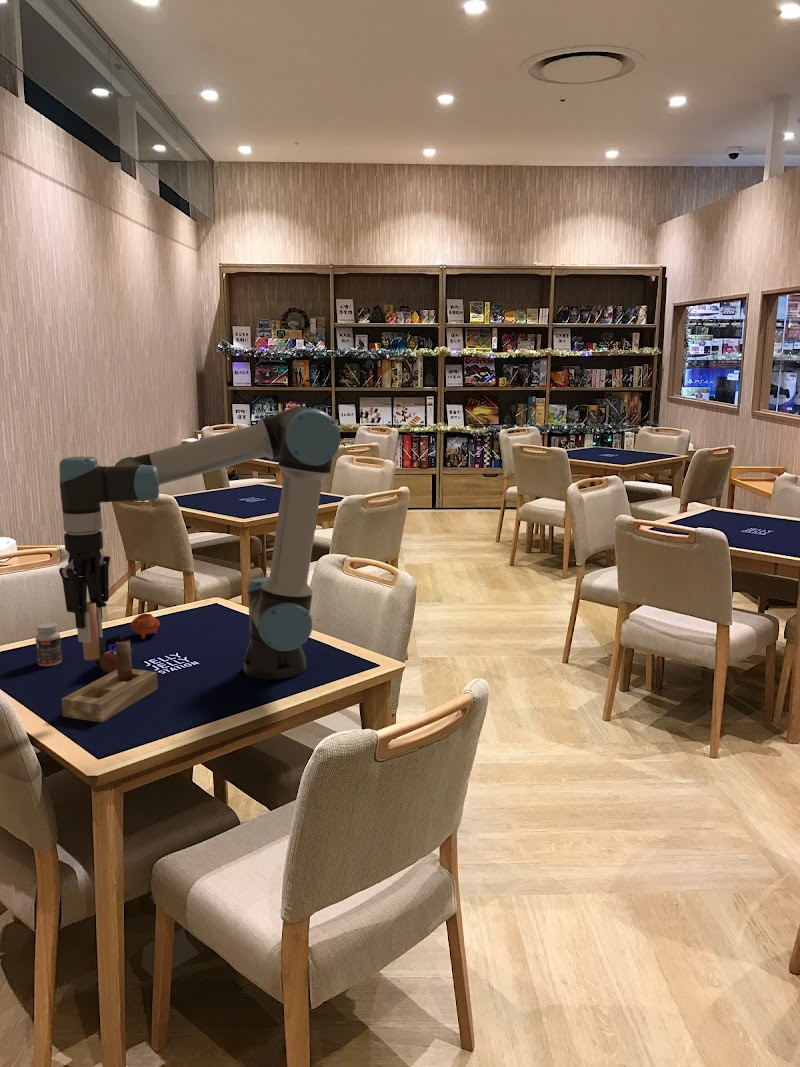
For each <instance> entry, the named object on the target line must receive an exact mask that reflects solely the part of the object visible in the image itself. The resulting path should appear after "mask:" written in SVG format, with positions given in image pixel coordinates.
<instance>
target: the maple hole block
mask: <svg viewBox="0 0 800 1067" xmlns="http://www.w3.org/2000/svg"><path fill="white" fill-rule="evenodd" d="M132 676H133V679H132V680H130V681H129V682H123V681H118V674H117V670H115V671H113V672H111V673H109V674H107V675H105V676H103V677H102V676H101V677H100V678H98V679H96V680H94V681H92V682H90V683H88V684H86V685H85V686H83V687H81V688H79V689H78V690H76V691H74V692H73V691H72V693H70V694H67V695H66V696H65V697H62V698H61V708H62V717H64V718H65V717H66V718H71V719H75V720H76V719H77V720H83V721H89V722H95V723H103V722H105V721H107V720H108V719H110V718H113V716H115V715H117V714H119V713H120V712H122V711H123V710H126V708H128V707H130V706H132V705H133V704H135V703H137V702H138V701H140V700H142V699H143V698H145V697H147V696H148V695H150V694H151V693H153V692H155V691H156V690H158V689H159V685H158V684H159V682H158V672H157V671H150V670H143V669H135V668H132Z"/></svg>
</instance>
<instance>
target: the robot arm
mask: <svg viewBox="0 0 800 1067" xmlns="http://www.w3.org/2000/svg"><path fill="white" fill-rule="evenodd" d="M340 432H341V431H340V429H339V426H338V425H337V423H336V422H335V420H334V419H333V418H332V417H331V416H330V415H329V414H328V413H327V412H325V411H323V410H321V409H317V408H312V407H308V406H295V407H292V408H289V409H286V410H283V411H282V412H278V413H275V414H273V415H270V416H267V417H263V418H259V420H258V422H257V423H256V424H255V425H254V424H253V425H250V426H247V427H244V428H238V429H235V430H233V431H232V430H231V431H228V432H225V433H220V434H216V435H212V436H210V437H205V438H202V439H198V440H194V441H190V442H186V443H183V444H179V445H175V446H171V447H169V448H168V447H167V448H163V449H161V450H160V449H159V450H156V451H153V452H149V453H146V454H141V455H137V456H127V457H123V458H121V459H120V460H119V461H117V462H116V463H115V465H112V466H106V465H105V466H102V465H99V462H98V459H97V458H96V457H94V456H71V457H64V458H63V459H62V460H61V461H60V462H59V489H60V490H59V491H60V498H61V500H60V501H61V511H62V512H61V513H62V522H63V531H64V532H65V533H64V535H63V539H64V549H65V552H67V553H68V555H69V556H68V560H67V564H66V566H65V567H60V568H59V569H58V571H59V574H60V577H61V580H62V586H63V593H64V594H63V595H64V599H65V600H64V601H65V607H66V613H74V616H75V618H74V620H75V627H76V629H77V641H78V642H79V643H83V642H85V643H90V642H91V632H90V617H89V612H86V602H87V592H88V597H89V602H95V603H96V610H97V625H98V639H99V638H100V639H101V638H103V637H104V634H103V608H106V606H107V602H108V601H109V598H110V597H109V595H110V594H109V592H110V591H109V586H110V585H109V566H110V561H111V557H110V556H109V555H102V552H101V550H102V549H103V548H104V541H103V539H104V538H103V532H102V531H101V529H102V528H103V521H102V520H103V519H102V510H101V503H119V502H120V503H121V502H123V503H125V502H126V503H127V502H141V503H144V502H147V501H156V500H157V499H159V496H160V487H159V486H161V485H165V484H169V483H172V482H175V481H180V480H184V479H187V478H189V477H190V478H192V477H194V476H197V475H202V474H206V473H209V472H213V471H217V470H220V469H224V468H228V467H231V466H236V465H239V464H242V463H246V462H249V461H253V460H257V459H261V458H268V459H269V460H273V459H274V460H275V459H277V458H279V459H278V466H277V467H278V468H279V469H280V470H281V471H282V473H283V478H282V485H281V486H282V487H281V493H280V499H279V506H278V515H277V521H276V526H275V527H276V529H275V536H274V542H273V543H274V544H273V548H272V549H273V550H272V557H271V564H270V571H269V576H266V577H265V576H264V577H259V578H253V579H251V580H250V581H248V585H247V591H246V593H247V596H248V597H247V598H248V620H249V622H248V623H249V624H248V625H249V643H248V646H247V650H246V653H245V656H244V660H243V672H244V673H245V675H247V676H248V677H250V678H254V679H258V680H283V679H289V678H292V677H296V676H298V675H300V674H303V673H304V672H305V670H306V669H307V659H306V656H305V652H304V650H303V647H302V645H304V644H305V643H306V642H307V640H308V639H309V638H310V637H311V634H312V630H313V619H312V615H311V614H310V612H311V606H312V599H313V598H312V597H313V590H312V589H311V587H310V585H308V580H309V579H308V578H309V573H310V566H311V559H312V553H313V546H314V540H315V532H316V528H317V527H316V525H317V518H318V512H319V505H320V498H321V492H322V485H323V480H324V479H325V478H327V477H328V476H329V475H330V474H331V470H332V466H333V460H334V458H335V456H336V454H337V452H338V451H339V448H340V444H341V433H340Z"/></svg>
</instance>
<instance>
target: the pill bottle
mask: <svg viewBox="0 0 800 1067" xmlns="http://www.w3.org/2000/svg"><path fill="white" fill-rule="evenodd" d="M57 630H58V624H57V623H55V622H45V623H40V624H38V625H37V626H36V631H37V632H38V633H37V634H36V636H35V646H36V656H37V657H36V659H37V660H36V661H37V664H38V665H39V666H40V667H52V666H53V667H54V666H57V665H59V664H61V662H62V661H63V657H62V656H63V654H62V642H61V634H60V632H58V631H57Z"/></svg>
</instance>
